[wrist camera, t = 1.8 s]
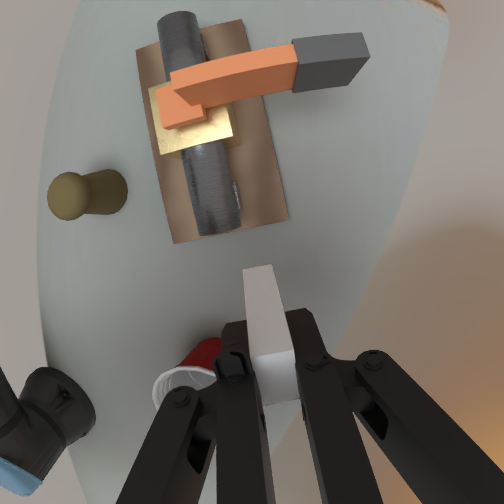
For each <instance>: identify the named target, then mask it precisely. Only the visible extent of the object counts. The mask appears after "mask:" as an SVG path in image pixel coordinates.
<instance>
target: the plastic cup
mask: <svg viewBox="0 0 504 504" xmlns="http://www.w3.org/2000/svg"><path fill="white" fill-rule="evenodd" d="M221 341H222V339H220V338H208V339H206V340H204V341H202V342H200V343H199V345H198V346H197V347H196V348H195V349H193V350H192V351H191V352H190V353H189V354H188V356H187V357H186V358H185V359H184V360H183V361H182V362H181V363H180V364H179V365H177V366H176V367H175V368H173V369H170V370H167V371H165V372H163V373H162V374H161V375H160V376H159V378H158V379H157V380H156V381H155V382H154V384H153V392H152V398H153V401H154V404H155V407H156V409H157V411H158V410H159V408H160V406H161V403H162V401H163V399H164V397H165V396H166V394H167V393H168V392H169V391H171V390H172V389H173V388H176V387H179V386H190V387H193V388H194V389H195V390H200V389H203V388H205V387H208V386H210V385H211V384H213V383H214V382H215V381H216V380H217V379H216V376H215V373H214V370H213V368H212V365H211V364H212V361H213V359H214V357H215V356H216V355H217V354H219V353H221V347H222V346H221Z"/></svg>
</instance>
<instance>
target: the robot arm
mask: <svg viewBox="0 0 504 504" xmlns="http://www.w3.org/2000/svg"><path fill="white" fill-rule="evenodd" d="M242 270H243V282H244V294H245V306H246V317H247V320H243V321H238V322H232V323H226V325H225V327H224V328H223V330H222V341H221V346H222V347H221V353H219V354H217V355H216V356H215V357H214V359H213V361H212V364H211V365H212V368H213V370H214V373H215V376H216V379H217V380H216V381H215V382H214V383H213V384H211V385H210V386H208V387H205V388H203V389H200V390H195V389H194V388H193V387H190V386H179V387H176V388H173V389H172V390H171V391H169V392H168V393H167V394H166V396H165V397H164V399H163V401H162V403H161V406H160V408H159V410H158V412H157V414H156V416H155V418H154V421H153V423H152V425H151V427H150V429H149V431H148V434H147V436H146V438H145V440H144V442H143V444H142V447H141V449H140V451H139V453H138V455H137V458H136V460H135V462H134V464H133V466H132V469H131V471H130V473H129V475H128V477H127V480H126V482H125V484H124V486H123V488H122V491H121V493H120V495H119V497H118V500H117V502H116V504H198V501H199V498H200V495H201V492H202V488H203V485H204V482H205V479H206V475H207V472H208V469H209V465H210V462H211V459H212V455H213V452H214V449H215V445H216V468H217V504H276V501H275V493H274V486H273V478H272V470H271V462H270V454H269V446H268V438H267V430H266V422H265V416H264V412H263V407H262V405H263V406H264V405H270V404H275V403H281V402H286V401H291V400H296V399H301V406H302V414H303V420H304V421H305V425H306V429H307V434H308V439H309V443H310V448H311V452H312V457H313V462H314V466H315V470H316V475H317V480H318V485H319V489H320V494H321V499H322V503H323V504H383V501H382V498H381V495H380V492H379V489H378V486H377V483H376V479H375V476H374V473H373V471H372V468H371V465H370V461H369V458H368V456H367V453H366V450H365V447H364V444H363V441H362V438H361V435H360V432H359V430H358V427H357V424H356V421H355V419H354V415H353V413H352V412H354V413H355V415H356V416H357V417H358V419H359V420H360V422H361V423H362V424H363V426H364V427H365V428H366V430H367V431H368V432H369V434H370V435H371V436H372V438H373V439H374V440H375V442H376V443H377V444H378V446H379V447H380V448H381V450H382V451H383V452H384V454H385V455H386V456H387V458H388V459H389V460H390V462H391V463H392V464H393V466H394V467H395V468H396V470H397V471H398V472H399V473H400V475H401V476H402V478H403V479H404V480H405V482H406V483H407V484H408V485H409V487H410V488H411V489H412V491H413V492H414V493H415V495H416V496H417V497H418V499H419V500H420V501H421V503H422V504H504V473H503V472H502V471H501V469H500V468H499V467H498V466H497V465H496V464H495V463H494V462H493V461H492V460H491V459H490V458H489V457H488V456H487V455H486V454H485V453H484V451H483V450H482V449H481V448H480V447H479V446H478V445H477V444H476V443H475V442H474V441H473V440H472V439H471V438H470V437H469V436H468V435H467V434H466V433H465V432H464V431H463V430H462V429H461V428H460V427H459V426H458V425H457V423H456V422H455V421H454V420H453V419H452V418H451V417H449V415H448V414H447V413H446V412H445V411H444V410H443V409H442V408H441V407H440V406H439V405H438V404H437V403H436V402H435V401H434V400H433V399H432V398H431V397H430V396H429V395H428V394H427V393H426V392H425V391H424V390H423V389H422V388H421V387H420V386H419V385H418V384H417V383H416V382H415V381H414V380H413V379H412V378H411V377H410V376H409V375H408V374H407V373H406V372H405V371H404V370H403V369H402V368H401V367H400V366H399V365H398V364H397V363H396V362H395V361H394V360H393V359H392V358H391V357H390V356H389V355H388V354H386V353H385V352H383V351H379V350H369V351H365V352H363V353H361V354H360V355H359V356H358V357H357V359H356V360H355V361H354V360H353V361H346V360H339V359H335V358H333V357H332V356H330V354H328V352H327V351H326V349H325V346H324V343H323V340H322V338H321V335H320V333H319V330H318V327H317V325H316V323H315V319H314V317H313V314H312V313H311V312H310V311H308V310H307V309H306V308H302V309H297V310H292V311H287V312H284V309H283V306H282V302H281V298H280V294H279V290H278V286H277V283H276V279H275V275H274V271H273V268H272V264H269V265H264V266H258V267H253V268H248V269H242ZM94 423H95V412H94V409H93V406H92V404H91V402H90V400H89V399H88V397H87V396H86V394H85V393H84V392H83V390H82V389H81V388H80V387H79V386H78V385H77V384H76V383H75V382H74V381H73V380H72V379H70V378H69V377H68V376H66V375H65V374H63V373H62V372H60V371H58V370H55V369H53V368H49V367H40V368H38V369H36V370H35V371H34V372H33V373H32V374H30V375H29V377H28V378H27V380H26V383H25V386H24V388H23V390H22V392H21V394H20V397H19V399H17V397H16V395H15V393H14V392H13V390H12V388H11V386H10V384H9V383H8V381H7V379H6V377H5V375H4V373H3V371H2V369H1V367H0V485H1V486H3V487H4V488H5V489H7V490H9V491H11V492H13V493H15V494H18V495H20V496H30V495H31V494H32V493H33V492H34V491H35V490H36V489H37V488H38V487H39V485H41V484H42V481H43V480H44V478H45V477H46V475H47V474H48V472H49V471H50V469H51V468H52V467H53V465H54V464H55V462H56V461H57V459H58V458H59V456H60V455H61V454H62V452H63V451H64V449H65V448H66V447H67V446H68V445H70V444H72V443H73V442H75V441H77V440H78V439H79V438H81V437H84V436H85V435H87V434H88V433H89V431H90V430H91V428H92V427H93V425H94Z"/></svg>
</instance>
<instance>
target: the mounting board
mask: <svg viewBox="0 0 504 504" xmlns="http://www.w3.org/2000/svg"><path fill="white" fill-rule="evenodd" d="M199 32H200V34H201V33H202V34H203V36H204V38H205V40H206V42H207V45H208V49H209V54H210V58H211V61H212V60H216V59H220V58H224V57H228V56H232V55H237V54H241V53H246V52H250V48H249V45H248V41H247V37H246V33H245V30H244V26H243V22H242V19H239V20H235V21H230V22H226V23H222V24H218V25H214V26H210V27H206V28H202V29H199ZM136 57H137V64H138V71H139V78H140V84H141V90H142V96H143V102H144V108H145V114H146V119H147V125H148V130H149V135H150V140H151V146H152V151H153V156H154V160H155V165H156V170H157V175H158V179H159V184H160V189H161V193H162V197H163V202H164V206H165V210H166V215H167V219H168V223H169V227H170V231H171V235H172V239H173V243H174V244H177V243H182V242H186V241H191V240H195V239H200V238H205V237H209V236H214V235H219V234H223V233H228V232H233V231H238V230H242V229H247V228H252V227H257V226H262V225H267V224H272V223H277V222H282V221H287V220H289V218H288V213H287V208H286V203H285V198H284V193H283V189H282V184H281V179H280V175H279V170H278V165H277V161H276V156H275V152H274V147H273V143H272V139H271V134H270V130H269V126H268V121H267V117H266V113H265V109H264V104H263V100H262V96H261V95H260V96H255V97H251V98H246V99H242V100H237V101H233V102H232V106H233V110H234V115H235V119H236V123H237V128H238V132H239V137H240V141H241V146H237V147H233V148H229V149H225V151H226V155H227V160H228V165H229V169H230V174H231V178H232V182H238V185H239V190H240V194H241V199H242V203H243V208H242V209H241V210H239V214H240V219H241V223H242V226H241V227H239V228H237V229H234V230H230V231H227V232H223V233H218V234H214V235H208V236H199V232H198V228H197V224H196V220H195V216H194V211H193V207H192V203H191V198H190V194H189V189H188V185H187V180H186V176H185V171H184V167H183V162H182V160H181V159H176V158H172V157H167V156H162V155H160V150H159V145H158V140H157V135H156V130H155V125H154V119H153V114H152V108H151V103H150V97H149V91H148V88H151V87H154V86H157V85H160V84H163V83H166V82H167V81H166V76H165V70H164V64H163V59H162V53H161V47H160V42H157V43H154V44H151V45H148V46H146V47H143V48H140V49H138V50H136Z"/></svg>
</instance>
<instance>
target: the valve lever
mask: <svg viewBox="0 0 504 504" xmlns="http://www.w3.org/2000/svg"><path fill="white" fill-rule="evenodd" d="M369 58H370V54H369V51H368V48H367V45H366V42H365V39H364V37H363V34H362V32H361V33H345V34H332V35H322V36H313V37H305V38H297V39H292V44H290V45H283V46H277V47H272V48H266V49H261V50H256V51H251V52H246V53H241V54H237V55H232V56H228V57H224V58H220V59H216V60H212V61H208V62H204V63H201V64H197V65H194V66H190V67H187V68H183V69H180V70H177V71H174V72H170V77H171V82H172V85H169V86H165V87H162V88H159V89H156V90H155V91H156V97H157V102H158V108H159V113H160V119H161V124H162V128H164V129H166V130H171V129H175V128H178V127H182V126H185V125H189V124H192V123H196V122H200V121H203V120H207V116H206V111H205V108H209V107H213V106H217V105H221V104H225V103H229V102H233V101H237V100H242V99H246V98H251V97H255V96H260V95H265V94H270V93H276V92H281V91H287V90H292V91H293V93H297V92H303V91H310V90H316V89H323V88H331V87H339V86H347V85H348V84H349V83H350V82H351V81H352V79H353V78H354V77H355V76H356V74H357V73H358V72H359V70H360V69H361V68H362V67H363V65H364V64H365V63H366V62H367V60H368V59H369Z"/></svg>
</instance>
